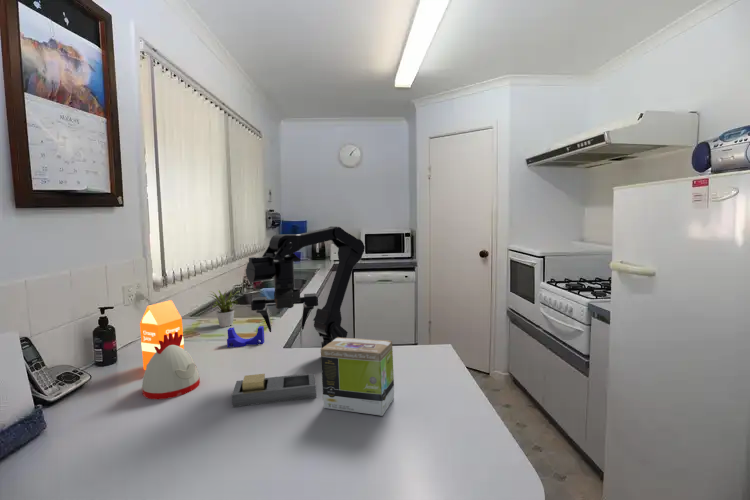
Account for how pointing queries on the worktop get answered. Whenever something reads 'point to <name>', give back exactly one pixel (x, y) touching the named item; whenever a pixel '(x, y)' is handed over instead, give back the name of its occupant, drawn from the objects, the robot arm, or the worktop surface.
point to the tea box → (358, 375)
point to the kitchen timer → (170, 371)
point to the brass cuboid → (254, 382)
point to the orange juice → (158, 327)
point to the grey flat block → (277, 390)
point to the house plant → (224, 309)
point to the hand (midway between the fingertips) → (286, 330)
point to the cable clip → (240, 342)
